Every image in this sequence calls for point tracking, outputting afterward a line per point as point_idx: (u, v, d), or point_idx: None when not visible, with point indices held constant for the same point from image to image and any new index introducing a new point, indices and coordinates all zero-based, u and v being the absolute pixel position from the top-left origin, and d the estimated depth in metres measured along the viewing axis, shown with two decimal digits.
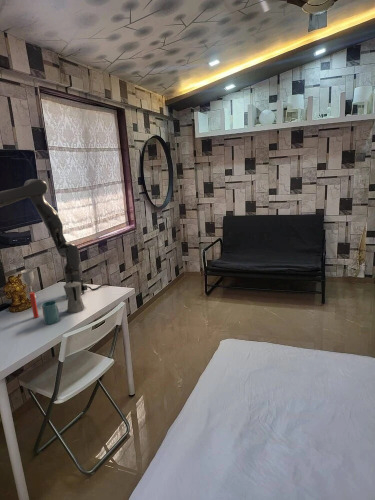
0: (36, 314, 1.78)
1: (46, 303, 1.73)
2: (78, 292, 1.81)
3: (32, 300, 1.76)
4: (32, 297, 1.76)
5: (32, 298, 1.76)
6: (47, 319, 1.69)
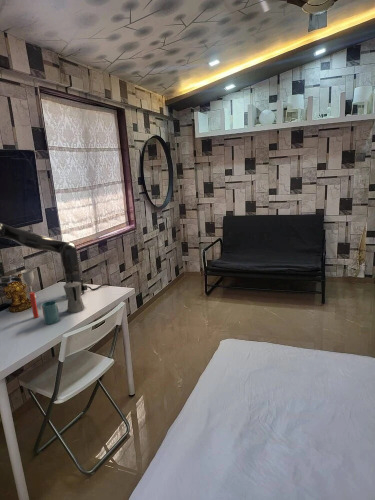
0: (36, 314, 1.78)
1: (46, 303, 1.73)
2: (78, 292, 1.81)
3: (32, 300, 1.76)
4: (32, 297, 1.76)
5: (32, 298, 1.76)
6: (47, 319, 1.69)
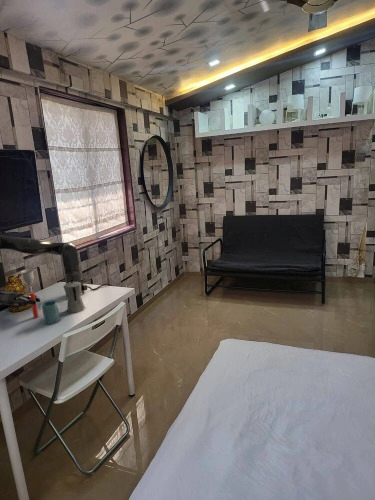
0: (36, 314, 1.78)
1: (46, 303, 1.73)
2: (78, 292, 1.81)
3: None
4: (32, 297, 1.75)
5: (32, 298, 1.76)
6: (47, 319, 1.69)
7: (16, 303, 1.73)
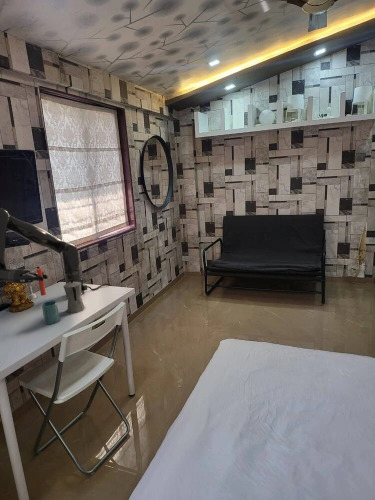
0: (43, 291, 1.70)
1: (46, 303, 1.73)
2: (78, 292, 1.81)
3: None
4: (40, 273, 1.67)
5: (39, 274, 1.67)
6: (47, 319, 1.69)
7: (22, 279, 1.65)
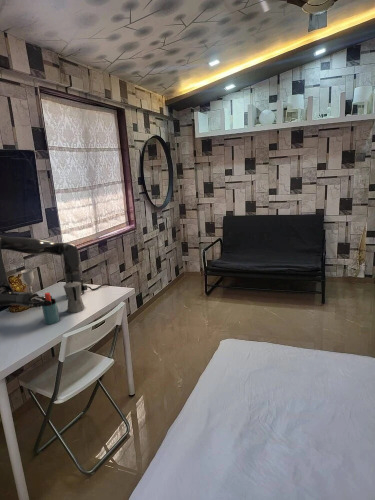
0: None
1: None
2: (78, 292, 1.81)
3: None
4: (48, 298, 1.69)
5: (48, 299, 1.69)
6: (47, 319, 1.69)
7: (31, 304, 1.66)
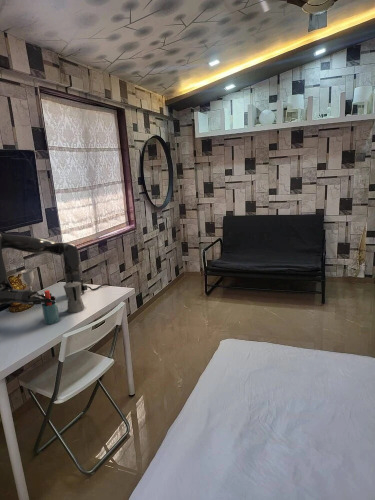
0: None
1: None
2: (78, 292, 1.81)
3: None
4: (48, 295, 1.68)
5: (47, 296, 1.68)
6: (47, 319, 1.69)
7: (31, 301, 1.66)
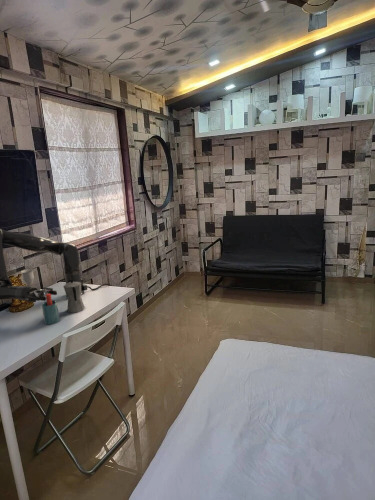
0: None
1: (46, 303, 1.73)
2: (78, 292, 1.81)
3: (48, 302, 1.69)
4: (49, 299, 1.69)
5: (48, 300, 1.69)
6: (47, 319, 1.69)
7: (27, 298, 1.65)
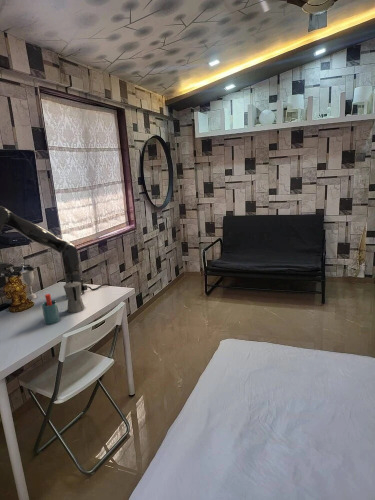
0: None
1: (46, 303, 1.73)
2: (78, 292, 1.81)
3: (48, 302, 1.69)
4: (48, 299, 1.69)
5: (48, 300, 1.69)
6: (47, 319, 1.69)
7: (2, 273, 1.67)
